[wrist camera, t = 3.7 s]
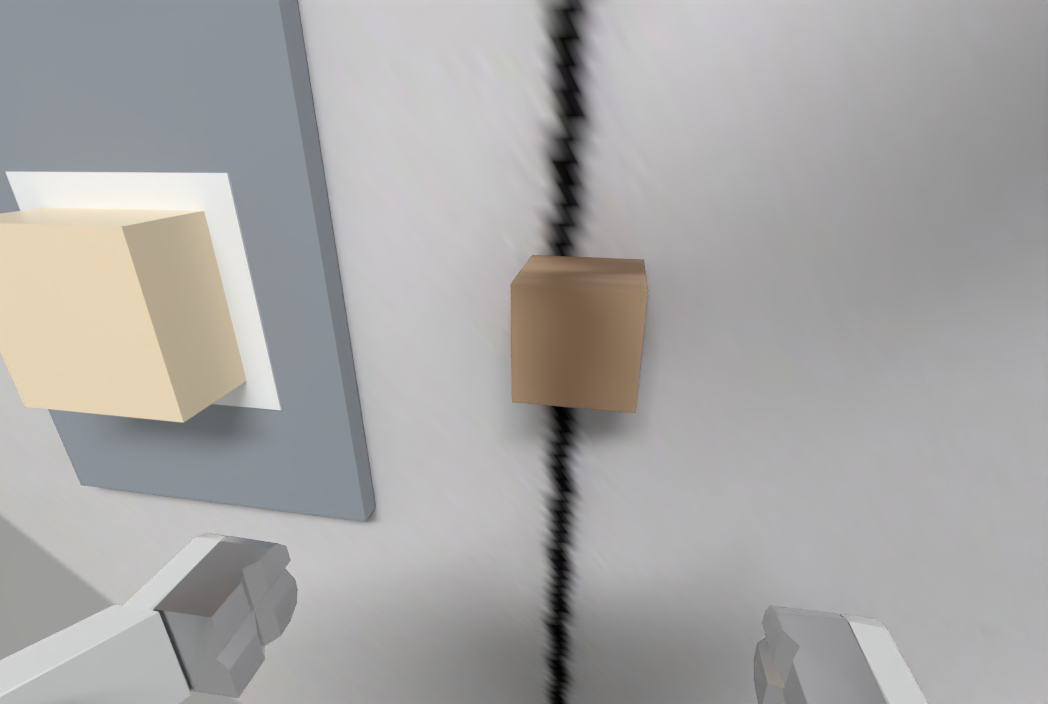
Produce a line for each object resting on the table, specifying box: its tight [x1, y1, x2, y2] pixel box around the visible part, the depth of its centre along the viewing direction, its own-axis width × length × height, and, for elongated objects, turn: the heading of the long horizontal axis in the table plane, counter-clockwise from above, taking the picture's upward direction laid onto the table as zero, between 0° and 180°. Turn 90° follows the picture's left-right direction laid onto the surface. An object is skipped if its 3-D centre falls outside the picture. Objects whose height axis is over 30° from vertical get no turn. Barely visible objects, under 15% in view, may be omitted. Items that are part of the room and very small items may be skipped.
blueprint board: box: [0, 0, 376, 522], centre depth 23 cm, size 18×24×5 cm
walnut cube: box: [511, 255, 648, 413], centre depth 20 cm, size 4×4×4 cm
